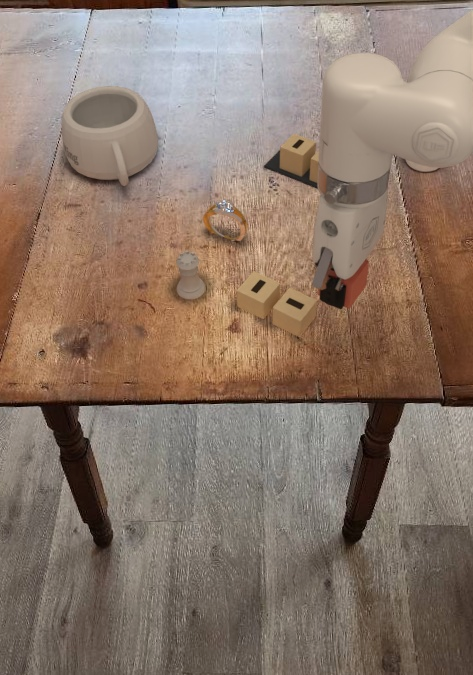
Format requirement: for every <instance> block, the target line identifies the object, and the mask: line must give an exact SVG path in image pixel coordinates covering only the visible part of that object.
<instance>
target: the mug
mask: <svg viewBox="0 0 473 675" xmlns="http://www.w3.org/2000/svg"><path fill="white" fill-rule="evenodd" d="M61 141H62V147H63V152H64V154H65V157H66V158H67V161H68V162H69V164H70V166H71V168H73V170H75V171H76V172H77V173H79V174H81V175H82V176H84V177H88V178H91V179H95V180H101V181H113V180H118V181H119V183H120V185H121V186H123V187H126V186H127V185H129V181H130V180H129V177H131V176H133V175H136V174H137V173H139V172H141V171H142V170H144V169H145V168H146V167H147V166H149V165H150V164H151V163H152V162H153V160H154V159H155V157H156V155H157V152H158V147H159V137H158V131H157V127H156V123H155V120H154V117H153V114H152V112H151V110H150V107H149V105H148V104H147V102H146V101H145V99H144V98H143V97H142V96H141V95H140V94H139V93H138V92H136V91H135V90H132V89H130V88H128V87H124V86H116V85H105V86H97V87H94V88H90V89H86V90H84V91H82V92H80V93H77V94H76V95H74V96H73V97H71V98H70V100H69V101H68V102H67V103H66V105H65V106H64V109H63V112H62V114H61Z"/></svg>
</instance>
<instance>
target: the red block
mask: <svg viewBox="0 0 473 675" xmlns="http://www.w3.org/2000/svg"><path fill="white" fill-rule="evenodd" d="M369 265H370V261H369V260H368V259H367V260H365V261H364V262H363V264H362V265H361V266H360V267H359V269H358V270H357V271H356V273H355V274H354V275H353V276H352V277H350V278H348V279H346V280H344V285H345V286H346V294H345V303H344V307H343V308H347V309H351V307H352V306H353V305H354V303H355V302H356V301H357V300H358V298H359V297H360V295H361V294H362V293H363V291H364V289H366V287H367V281H368V275H369V274H368V273H369ZM329 276H332V277H334V278H337V275H336V273H335V271H332V270H330V273H329ZM317 296H319V297H320V290H319V289H317Z"/></svg>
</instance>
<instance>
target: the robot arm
mask: <svg viewBox="0 0 473 675" xmlns="http://www.w3.org/2000/svg"><path fill="white" fill-rule="evenodd" d="M321 84H322V85H321V100H320V122H319V123H320V124H319V142H318V143H319V144H318V150H319V163H318V182H317V187H318V188H317V191H318V193H319V199H318V204H317V210H316V214H315V215H316V216H315V220H314V229H313V236H312V237H313V239H312V251H311V252H312V254H311V255H312V256H311V257H312V264H313V266H314V267H315V268H316V270H315V272H314V276H313V278H312V282H311V287H313V288H314V289H317V290H318V289H319V290H320V296H319V300H320V302H322V303H325V304H326V305H328V306H331V307H334V308H335V309H338V310H342V309H344V308H345V307H344V303H345V294H346V286H345V285H344V280H346V279H348V278H350V277H352V276H353V275H354V274H355V273H356V271H357V270H358V269H359V267H360V266H361V265H362V264H363V262H364V261H365V260H367V261H368V259H367V258H368V257H369V256H370V255H371V253H372V252H373V250H374V249H375V248H376V246H377V245H378V244H379V242H380V241H381V239H382V237H383V235H384V233H385V228H386V218H387V207H388V196H389V195H388V194H389V182H390V181H389V180H390V174H391V168H392V162H393V156H395V157H398V158H401V159H403V160H405V159H406V160H408V161H411V162H414V163H417V164H420V165H424V166H428V167H436V168H438V169H444V168H450V167H454V166H457V165H459V164H461V163H463V162H465V161H466V160H467V159H468V158H469V157H470V156H471V155H472V154H473V8H472V9H471V10H469V11H468V12H466V13H465V14H464V15H462V16H461V17H460V18H458V19H457V20H455V21H454V22H453V23H451V24H450V25H449V26H447V27H446V28H444V29H443V30H442V31H440V32H439V33H437V34H436V35H435V36H434V37H433V38H432V39H431V40H430V41H428V42H427V43H426V44H425V45H424V47H423V48H422V49H421V50H420V51H419V52H418V54H417V55H416V57H415V59H414V60H413V62H412V64H411V67H410V70H409V74H408V77H407V80H406V81H405V80H404V79H403V76H402V72H401V70H400V68H399V66H398V65H397V64H396V63H395V62H394V61H393V60H391V59H389V58H387V57H386V56H383V55H381V54H379V53H373V52H354V53H353V52H352V53H349V54H346V55H343V56H341V57H339V58H337V59H335V60H334V61H333V62H331V63H330V65H329V66H328V67H327V69H326V70H325V72H324V75H323V78H322V83H321ZM406 160H405V161H406ZM330 270H332V271H335V273H336V275H337V278H334V277H332V276H329V273H330Z"/></svg>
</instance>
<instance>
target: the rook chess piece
mask: <svg viewBox="0 0 473 675" xmlns="http://www.w3.org/2000/svg"><path fill="white" fill-rule="evenodd" d="M184 252H185V253H184ZM175 264H176V266H177V268H178V272H179V274H180V279H179V281H178V283H177V285H176V293H177V295H178V296H179V297H180V298H182V299H185V300H196V299H198V298H200V297H202V296H203V295H204V293H205V291H206V283H204V281H203V280H202V279H201V278H200V276H199V273H198V271H199V264H200V258H199V257H198V256H197V255H196V253H195V252H194V251H191V252H190V250H189V249H187V250H185V251H181V252H180V253H179V255H178V256H177V258H176V261H175Z"/></svg>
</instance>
